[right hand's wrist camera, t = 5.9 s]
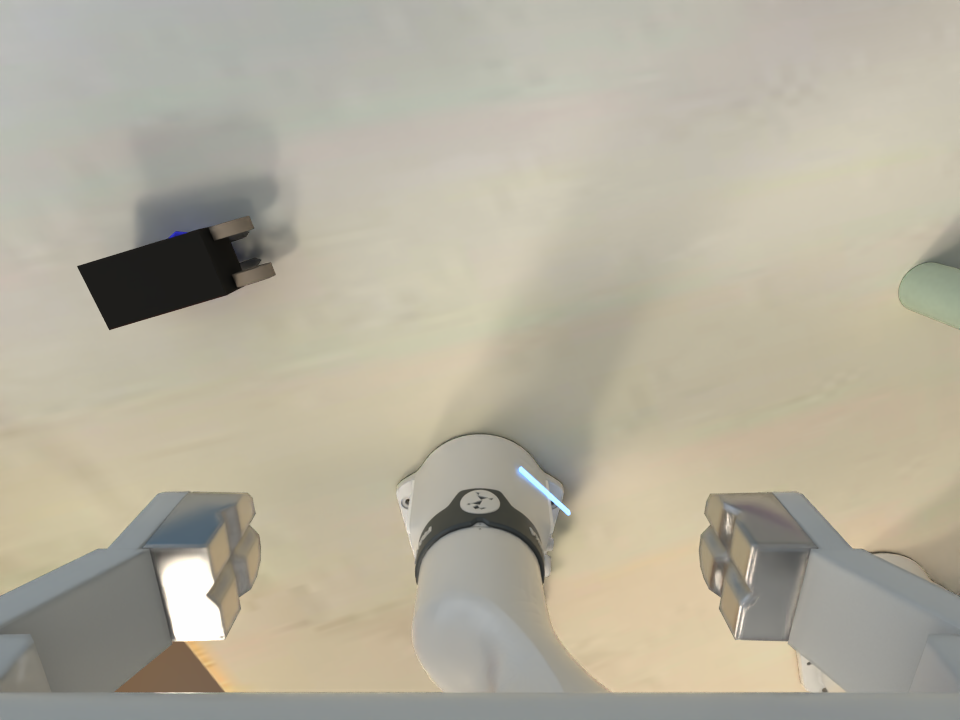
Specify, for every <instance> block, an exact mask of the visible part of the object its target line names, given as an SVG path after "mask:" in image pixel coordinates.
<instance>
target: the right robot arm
mask: <svg viewBox="0 0 960 720" xmlns="http://www.w3.org/2000/svg"><path fill="white" fill-rule="evenodd" d="M396 496H397V500H398V503H399V506H400V510H401V513H402V517H403V520H404V524H405V527H406V531H407V534H408V537H409V541H410V544H411V548H412V551H413V554H414V558H415V564H416V566H415V577H416V583H417V593H416V600H415V607H414V615H413V622H412V629H411V636H412V643H413V648H414V651H415V654H416V656H417V659H418V661H419V662H420V664H421V666H422V667H423V669H424V671H425V672H426V673H427V675H428V676H429V678H430V679H431V680H432V681H433V683H434V684H435V685H436V686H437V687H438V688H439V689H441V690H442V691H443V692H444V693H417V692H279V693H120V692H119V693H118V692H114V691H116V690H117V689H118V688H119V687H121V686H122V685H123V684H124V683H125V682H127V681H128V680H129V679H130V678H132V677H133V676H134V675H135V674H136V673H138V672H139V671H140V670H141V669H142V668H144V667H145V666H146V665H147V664H149V663H150V662H151V661H152V660H153V659H154V658H156V657H157V656H158V655H159V654H161V653H162V652H163V651H164V650H166V649H167V648H168V647H169V646H170V645H172V641H199V640H225V639H226V637H227V635H228V633H229V631H230V629H231V627H232V625H233V623H234V621H235V619H236V617H237V615H238V613H239V612H240V610H241V606H240V600H239V597H240V596H242V595H243V594H245V593H246V592H247V591H249V590H250V589H251V588H252V586H253V584H254V582H255V580H256V577H257V574H258V570H259V565H260V561H261V544H260V537H259V534H258V533H257V532H256V531H255V530H254V529H253V528H252V527H251V526H250V525H249V524H250V522H251V521H252V519H253V517H254V516H255V514H256V513H255V508H254V503H253V498H252V497H251V496H250V495H249V494H248V493H232V492H189V491H184V492H162V493H159V494H157V495H156V496H155V497H154V498H153V500H152V501H151V502H150V503H149V504H148V505H147V506H146V507H145V508H144V509H143V510H142V512H141V513H140V514H139V515H138V516H137V517H136V518H135V519H134V520H133V521H132V522H131V524H130V525H129V526H128V527H127V528H126V529H125V530H124V531H123V532H122V533H121V534H120V535H119V537H118V538H117V539H116V540H115V541H114V542H113V543H112V544H111V545H110V546H109V547H108V549H97V550H94V551H92V552H90V553H88V554H86V555H84V556H82V557H80V558H78V559H76V560H74V561H72V562H70V563H68V564H66V565H63V566H61V567H59V568H57V569H55V570H53V571H51V572H49V573H47V574H45V575H43V576H41V577H39V578H37V579H35V580H32V581H30V582H28V583H26V584H24V585H22V586H20V587H18V588H16V589H14V590H12V591H10V592H8V593H6V594H3V595H1V596H0V720H960V596H958V595H956V594H954V593H952V592H950V591H948V590H946V589H944V588H942V587H940V586H938V585H936V584H934V583H932V582H929V581H927V580H925V579H923V578H921V577H919V576H917V575H915V574H913V573H911V572H909V571H907V570H905V569H903V568H901V567H899V566H896V565H894V564H892V563H890V562H888V561H886V560H884V559H882V558H880V557H878V556H876V555H874V554H872V553H870V552H868V551H866V550H863V549H852V547H851V546H850V545H849V544H848V543H847V542H846V541H845V540H844V539H843V538H842V537H841V535H840V534H839V533H838V532H837V531H836V530H835V529H834V528H833V527H832V526H831V525H830V523H829V522H828V521H827V520H826V519H825V518H824V517H823V516H822V515H821V514H820V513H819V511H818V510H817V509H816V508H815V507H814V506H813V505H812V504H811V503H810V502H809V501H808V500H807V498H806V497H805V496H804V495H803V494H801V493H799V492H796V491H786V492H767V493H720V494H710V495H709V497H708V499H707V501H706V507H705V513H704V514H705V516H706V517H707V519H708V521H709V522H710V524H711V525H710V526H709V527H708V528H707V529H706V530H705V531H704V532H703V533H702V534H701V538H700V546H699V557H700V567H701V570H702V574H703V577H704V580H705V582H706V584H707V586H708V588H709V589H710V590H711V591H713V592H714V593H715V594H717V595H718V596H720V597H721V600H720V606H719V610H720V612H721V613H722V615H723V617H724V619H725V621H726V623H727V625H728V627H729V629H730V631H731V633H732V635H733V637H734V638H735V640H760V641H788V644H789V645H790V646H791V647H792V648H793V649H795V650H796V651H797V652H798V653H800V654H801V655H802V656H803V657H804V658H806V659H807V660H808V661H809V662H810V663H812V664H813V665H814V666H815V667H817V668H818V669H819V670H820V671H821V672H823V673H824V674H825V675H826V676H827V677H829V678H830V679H831V680H832V681H834V682H835V683H836V684H837V685H838V686H840V687H841V688H842V689H843V690H844V691H846V692H790V693H613V692H611V691H610V690H609V689H607V688H606V687H605V686H603V685H602V684H601V683H599V682H598V681H597V680H596V679H595V678H593V677H592V676H591V675H590V674H589V673H588V672H587V671H586V670H585V669H584V668H583V667H582V666H581V665H580V664H579V663H578V662H577V661H576V660H575V659H574V658H573V657H572V656H571V655H570V653H569V652H568V651H567V650H566V648H565V647H564V646H563V644H562V643H561V641H560V640H559V638H558V637H557V635H556V633H555V631H554V629H553V627H552V624H551V620H550V617H549V613H548V609H547V605H546V601H545V596H544V590H543V583H544V577H549V575H550V571H551V557H550V556H549V555H547V551H552V550H553V546H554V540H553V538H551V537H552V534H553V531H554V527H555V524H556V520H557V517H558V513H559V510H560V509H562V510H563V511H564V512H565V513H566V514H567V515H568V516H569V515H570V510H568V509H567V508H566V507H565V506H564V505H563V504H562V500H563V496H564V488H563V485H562V484H561V483H560V482H559V481H558V480H556V479H555V478H553V477H552V476H550V475H548V474H546V473H545V472H543V471H542V470H541V468H540V467H539V466H538V464H537V463H536V462H535V460H534V459H533V458H532V456H531V455H530V454H529V453H528V452H527V451H526V450H524V449H523V448H522V447H520V446H519V445H517V444H516V443H514V442H512V441H510V440H507V439H505V438H502V437H498V436H494V435H486V434H474V435H466V436H462V437H458V438H455V439H453V440H450V441H448V442H446V443H444V444H443V445H441V446H440V447H438V448H437V449H436V450H434V451H433V452H432V453H431V454H430V455H429V456H428V458H427V459H426V460H425V462H424V463H423V464H422V466H421V467H420V468H419V470H418V471H417V472H415V473H414V474H412V475H410V476H408V477H407V478H405V479H404V480H402V481H401V482H400V483H399V484H398V485H397V489H396ZM406 499H410V500H409V501H407V500H406ZM550 499H551V500H552V501H551V500H550Z"/></svg>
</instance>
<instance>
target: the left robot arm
mask: <svg viewBox="0 0 960 720" xmlns="http://www.w3.org/2000/svg"><path fill="white" fill-rule="evenodd" d="M874 555H876V556H878V557H880V558H882V559H884V560H886V561H888V562H890V563H892V564H894V565H896V566H899V567H901V568H903V569H905V570H907V571H909V572H911V573H913V574H915V575H917V576H919V577H921V578H923V579H925V580H927V581H929V582H932V583H934V584H936V585H938V586H940V587H942V588H944V587H943V586H941V585H939V584H937V583H935V582H933V581H931V580H930V578H929V577H928V576H927V574H926V573H925V571H924V570H923V568H922V567H921V566H920V565H919V564H917V563H916V562H915V561H913V560H911V559H909V558H907V557H904V556H901V555H897V554H891V553H876V554H874ZM944 589H945V588H944ZM796 653H797V661H798V669H799V676H800V682H801V684H802V686H803V687H804V688H805V689H806V690H807V691H809V692H846V691H844V690H843V689H842V688H841V687H840V686H838V685H837V684H836V683H835V682H834V681H832V680H831V679H830V678H829V677H827V676H826V675H825V674H824V673H823V672H821V671H820V670H819V669H818V668H817V667H815V666H814V665H813V664H812V663H810V662H809V661H808V660H807V659H806V658H804V657H803V656H802V655H801V654H800V653H798V652H797V651H796Z"/></svg>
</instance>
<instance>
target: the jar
mask: <svg viewBox="0 0 960 720" xmlns="http://www.w3.org/2000/svg"><path fill="white" fill-rule="evenodd" d="M899 299H900V301H901V303H902V304H903V306H904V307H906V308H907V309H909V310H911V311H914V312H917V313H919V314H922V315H924V316H927V317H929V318H932V319H934V320H937V321H939V322H942V323H944V324H947V325H949V326H952V327H954V328H957V329H959V330H960V269H957V268H953V267H950V266H946V265H942V264H939V263H933V262H929V263H924V264H921V265H918V266H916V267H915V268H913V269H912V270H910V271H909V272H908V273H907V274H906V275H905V277H904V278H903V280H902V282H901V284H900V287H899Z"/></svg>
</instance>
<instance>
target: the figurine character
mask: <svg viewBox="0 0 960 720" xmlns="http://www.w3.org/2000/svg"><path fill="white" fill-rule="evenodd" d="M251 229H254V227H253V224H252V222H251V219H250V217H249V216H246V217H242V218H239V219H235V220H232V221H228V222H225V223H222V224H218V225H215V226H211V227H207V228H203V229H198V230H195V231H191V232H178V231H176V232H174V233H173V234H172V235H171V236H170V237H169V238H168V239H165V240H162V241H159V242H155V243H152V244H149V245H145V246H142V247H139V248H136V249H132V250H129V251H126V252H122V253H119V254H116V255H112V256H109V257H106V258H103V259H99V260H96V261H93V262H89V263H86V264H83V265H80V266H77V267H78V269H79V271H80V273H81V275H82V277H83V279H84V281H85V283H86V285H87V287H88V289H89V291H90V293H91V295H92V297H93V299H94V301H95V303H96V305H97V307H98V309H99V311H100V313H101V315H102V316H103V318H104V320H105V322H106V324H107V326H108V328H109V330H111V329H115V328H118V327H121V326H125V325H128V324H131V323H135V322H138V321H141V320H145V319H148V318H152V317H155V316H158V315H162V314H165V313H168V312H172V311H175V310H178V309H182V308H185V307H189V306H192V305H195V304H199V303H202V302H205V301H209V300H212V299H215V298H219V297H222V296H226V295H228V294H230V293H232V292H234V291H236V290H238V289H240V288H242V287H244V286H246V285H249V284H252V283H256V282H259V281H262V280H265V279H267V278H270V277H272V276H275V275H276V274H275V272H274V269H273V267H272V264H271V263H266V264H262V265H259V266H258V264H259V263H260V261H261V260H260V259H257V258H253V259H250V260H247V261H244V262H241V263H239V261H238V259H237V256H236V254H235V251H234V249H233V247H232V244H231V242H233V241H236V240H239V239H242V238H245V237H246V236H247V235H248V233H249V232H248V230H251ZM255 266H256V267H255Z"/></svg>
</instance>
